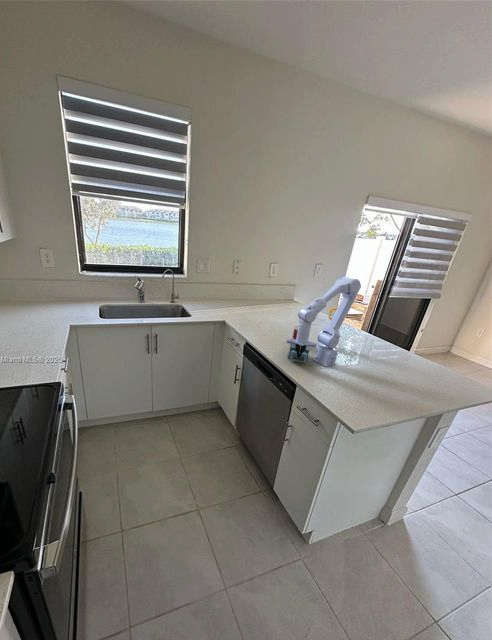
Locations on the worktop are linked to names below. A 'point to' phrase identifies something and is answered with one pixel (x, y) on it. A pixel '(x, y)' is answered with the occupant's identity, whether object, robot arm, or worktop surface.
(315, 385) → the worktop surface
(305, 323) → the robot arm
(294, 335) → the canned food
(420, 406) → the worktop surface
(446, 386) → the worktop surface
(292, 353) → the detergent tray
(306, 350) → the dispenser
